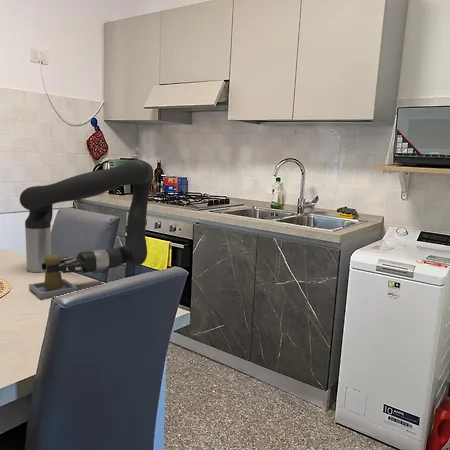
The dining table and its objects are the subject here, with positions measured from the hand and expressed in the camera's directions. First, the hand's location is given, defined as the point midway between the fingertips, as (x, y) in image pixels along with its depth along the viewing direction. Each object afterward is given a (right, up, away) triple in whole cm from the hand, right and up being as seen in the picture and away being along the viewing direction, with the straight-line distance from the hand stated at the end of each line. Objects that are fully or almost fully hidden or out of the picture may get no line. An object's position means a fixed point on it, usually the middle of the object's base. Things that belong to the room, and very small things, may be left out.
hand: (44, 268), depth 147 cm
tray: (+2, -8, +3) cm, 9 cm away
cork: (+2, -7, +3) cm, 8 cm away
